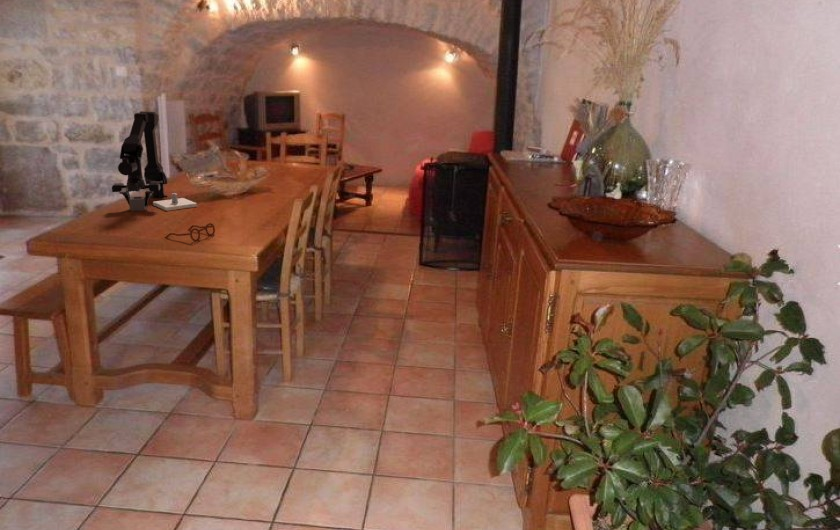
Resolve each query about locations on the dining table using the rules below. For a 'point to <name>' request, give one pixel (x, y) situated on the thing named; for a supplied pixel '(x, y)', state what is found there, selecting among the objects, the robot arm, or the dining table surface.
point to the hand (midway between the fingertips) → (138, 206)
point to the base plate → (174, 203)
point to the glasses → (196, 230)
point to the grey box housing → (137, 203)
